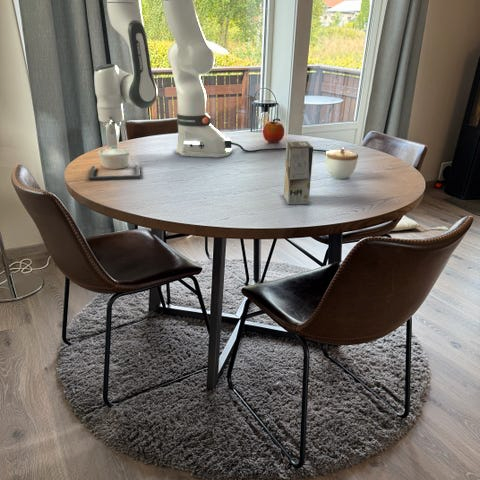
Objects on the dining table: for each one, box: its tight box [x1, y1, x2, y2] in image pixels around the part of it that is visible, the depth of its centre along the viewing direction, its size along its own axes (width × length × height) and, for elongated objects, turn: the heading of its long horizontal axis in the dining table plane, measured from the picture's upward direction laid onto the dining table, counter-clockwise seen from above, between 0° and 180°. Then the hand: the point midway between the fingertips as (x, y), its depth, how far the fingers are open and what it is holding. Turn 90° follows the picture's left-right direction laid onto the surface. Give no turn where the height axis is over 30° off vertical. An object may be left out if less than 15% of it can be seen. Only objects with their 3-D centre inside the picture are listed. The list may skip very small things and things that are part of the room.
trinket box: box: [325, 147, 359, 180], centre depth 168 cm, size 11×11×9 cm
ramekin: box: [97, 147, 132, 170], centre depth 178 cm, size 11×11×5 cm
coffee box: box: [283, 140, 314, 205], centre depth 144 cm, size 9×6×16 cm
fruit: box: [262, 117, 285, 144], centre depth 216 cm, size 10×10×10 cm
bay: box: [88, 164, 141, 182], centre depth 170 cm, size 15×16×1 cm
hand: (115, 155), depth 184 cm, fingers closed
